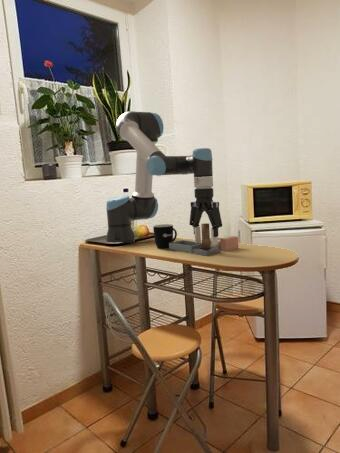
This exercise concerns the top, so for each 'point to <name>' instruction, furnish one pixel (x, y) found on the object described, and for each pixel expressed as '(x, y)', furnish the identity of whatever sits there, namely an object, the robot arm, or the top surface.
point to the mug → (164, 235)
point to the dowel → (205, 236)
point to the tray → (184, 246)
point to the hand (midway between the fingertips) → (206, 243)
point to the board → (217, 244)
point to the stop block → (229, 243)
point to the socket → (206, 251)
